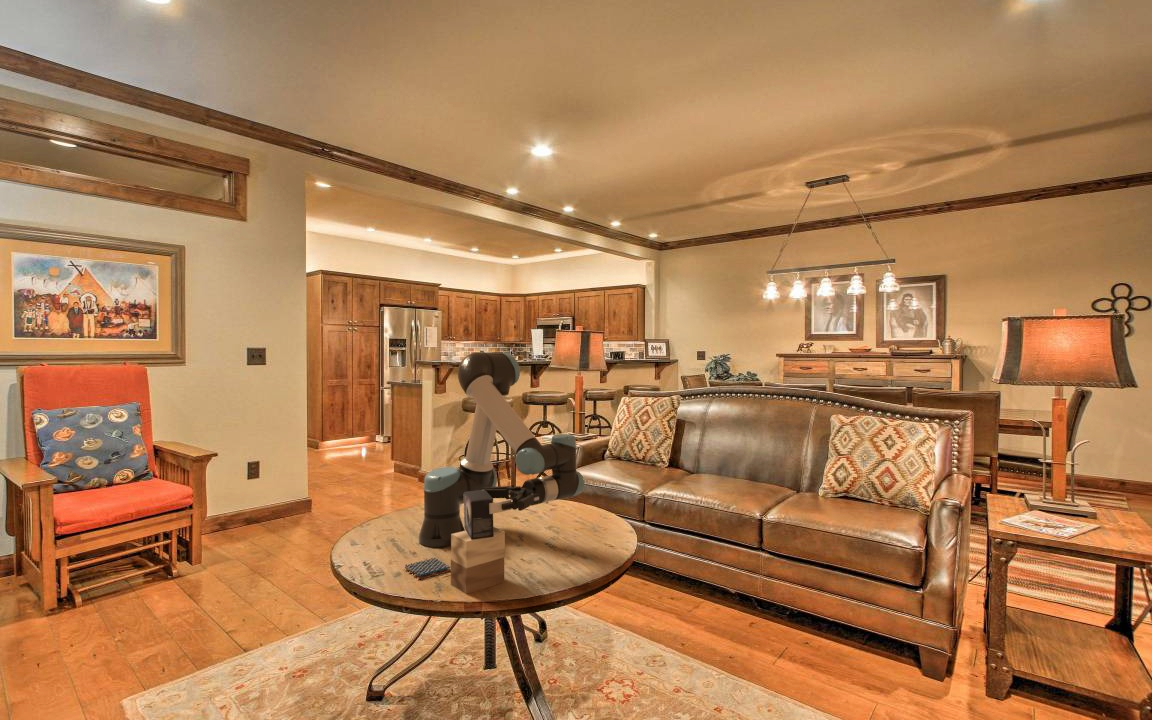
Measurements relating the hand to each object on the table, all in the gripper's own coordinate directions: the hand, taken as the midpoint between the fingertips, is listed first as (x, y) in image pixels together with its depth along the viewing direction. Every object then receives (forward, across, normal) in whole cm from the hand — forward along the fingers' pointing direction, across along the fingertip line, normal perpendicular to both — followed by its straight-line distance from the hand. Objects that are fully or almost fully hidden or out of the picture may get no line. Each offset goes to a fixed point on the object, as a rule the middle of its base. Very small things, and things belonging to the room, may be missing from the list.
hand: (476, 503), depth 153 cm
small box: (0, 0, -8) cm, 8 cm away
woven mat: (+7, +17, -22) cm, 29 cm away
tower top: (0, -1, -15) cm, 15 cm away
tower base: (0, 0, -22) cm, 22 cm away
